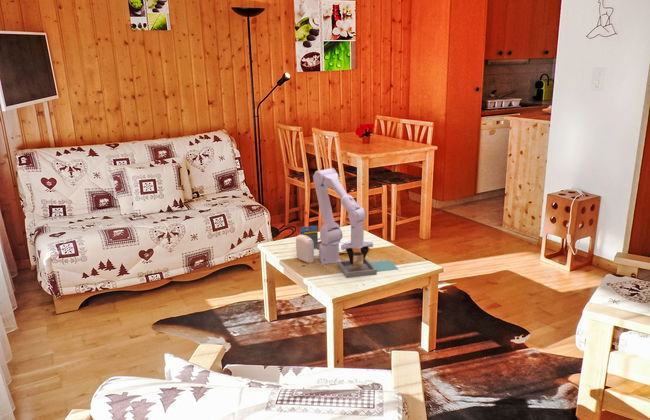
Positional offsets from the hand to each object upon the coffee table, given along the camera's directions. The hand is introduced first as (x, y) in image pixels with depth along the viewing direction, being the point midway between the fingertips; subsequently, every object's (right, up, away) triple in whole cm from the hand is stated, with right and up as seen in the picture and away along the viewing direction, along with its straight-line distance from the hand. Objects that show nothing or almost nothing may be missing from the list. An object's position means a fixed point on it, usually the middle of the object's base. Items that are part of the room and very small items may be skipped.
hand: (356, 263), depth 233 cm
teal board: (+12, -2, +5) cm, 14 cm away
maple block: (0, -1, 0) cm, 2 cm away
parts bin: (0, -4, +1) cm, 4 cm away
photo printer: (-24, 0, +14) cm, 28 cm away
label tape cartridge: (-23, +4, +29) cm, 37 cm away
